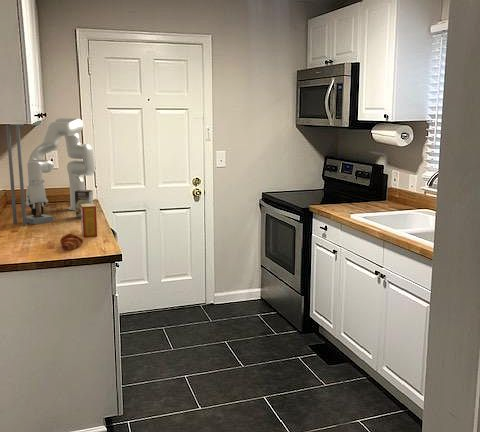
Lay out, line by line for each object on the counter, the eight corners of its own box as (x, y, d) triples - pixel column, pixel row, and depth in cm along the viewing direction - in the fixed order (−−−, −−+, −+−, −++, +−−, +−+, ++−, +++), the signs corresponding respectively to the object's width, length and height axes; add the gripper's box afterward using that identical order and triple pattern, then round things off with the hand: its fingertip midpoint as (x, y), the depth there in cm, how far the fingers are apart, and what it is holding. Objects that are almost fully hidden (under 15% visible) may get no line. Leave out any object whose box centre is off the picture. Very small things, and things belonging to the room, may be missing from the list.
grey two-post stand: (35, 219, 309) (28, 120, 298) (46, 222, 302) (40, 121, 291) (12, 223, 298) (4, 120, 287) (23, 226, 291) (16, 121, 280)
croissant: (70, 248, 257) (62, 234, 256) (89, 238, 258) (80, 224, 256) (60, 258, 237) (51, 243, 235) (80, 248, 237) (71, 232, 235)
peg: (39, 219, 306) (38, 202, 304) (43, 219, 304) (42, 202, 302) (33, 220, 303) (31, 202, 301) (36, 220, 301) (35, 203, 299)
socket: (41, 218, 312) (41, 213, 311) (53, 221, 305) (53, 216, 304) (22, 221, 302) (22, 216, 302) (34, 224, 295) (33, 219, 295)
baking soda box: (81, 233, 273) (80, 203, 270) (94, 232, 275) (93, 202, 272) (83, 237, 264) (82, 206, 261) (97, 236, 267) (95, 205, 264)
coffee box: (75, 217, 316) (73, 191, 313) (79, 215, 322) (78, 189, 319) (90, 218, 315) (88, 191, 312) (94, 216, 322) (92, 189, 319)
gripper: (45, 181, 308) (47, 211, 312) (18, 183, 295) (20, 215, 299) (52, 182, 304) (54, 213, 307) (25, 184, 291) (27, 217, 294)
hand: (37, 214), depth 303 cm, fingers closed on peg, 3 cm apart
